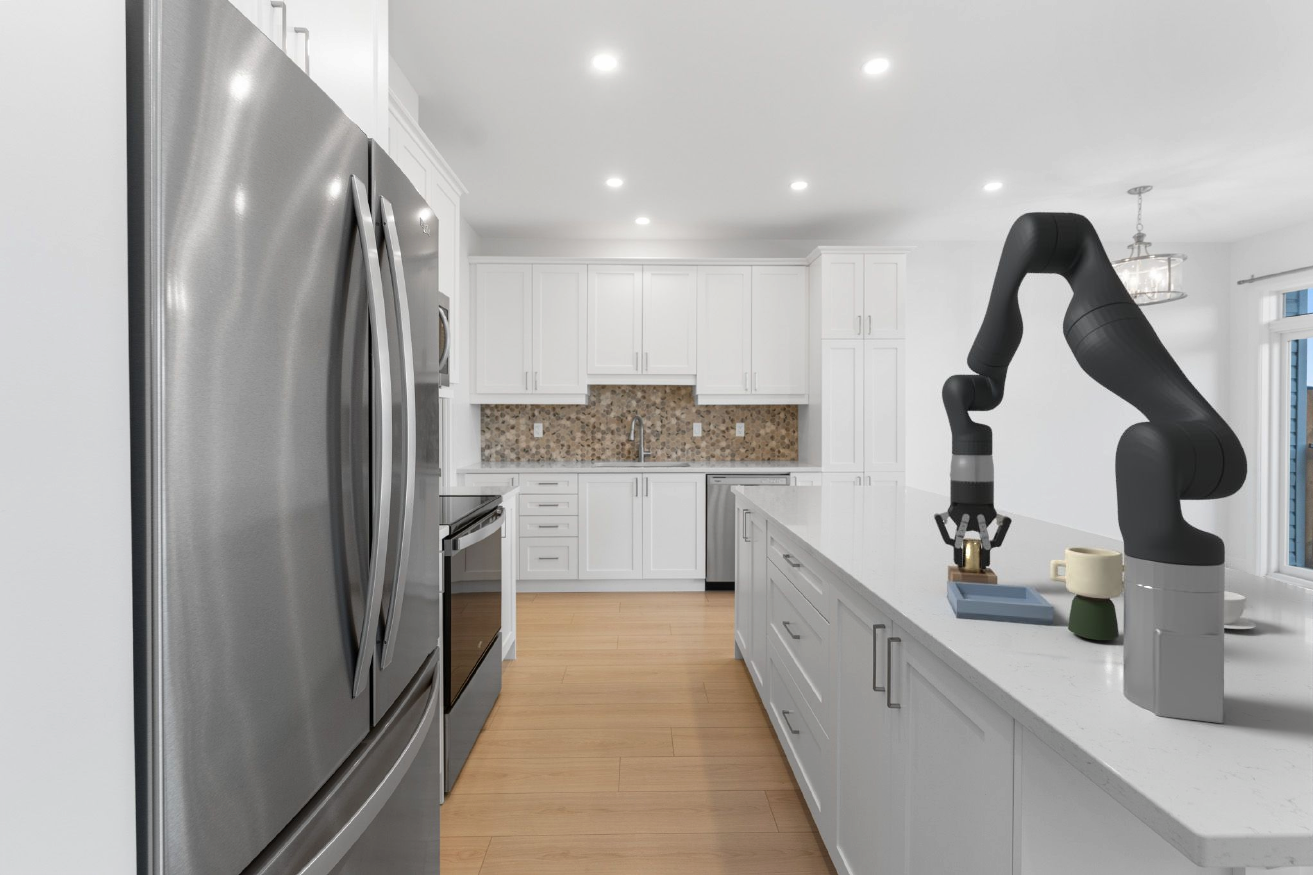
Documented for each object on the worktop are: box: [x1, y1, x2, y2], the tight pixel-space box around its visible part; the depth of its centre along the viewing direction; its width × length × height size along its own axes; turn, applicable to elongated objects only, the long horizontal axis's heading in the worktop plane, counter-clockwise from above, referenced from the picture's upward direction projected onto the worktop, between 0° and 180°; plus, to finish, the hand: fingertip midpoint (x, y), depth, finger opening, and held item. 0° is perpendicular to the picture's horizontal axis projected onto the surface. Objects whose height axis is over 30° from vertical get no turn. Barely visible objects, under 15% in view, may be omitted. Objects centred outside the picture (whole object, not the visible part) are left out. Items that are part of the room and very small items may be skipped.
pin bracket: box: [947, 565, 998, 584], centre depth 124 cm, size 8×8×4 cm
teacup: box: [1224, 590, 1258, 630], centre depth 105 cm, size 10×10×5 cm
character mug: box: [1049, 546, 1124, 641], centre depth 96 cm, size 11×7×13 cm, turn 59°
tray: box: [946, 580, 1054, 627], centre depth 111 cm, size 14×14×3 cm
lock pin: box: [962, 537, 982, 574], centre depth 124 cm, size 3×3×10 cm
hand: (971, 567), depth 124 cm, fingers open, 3 cm apart
